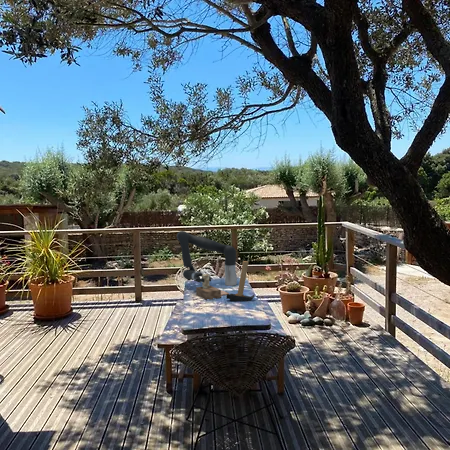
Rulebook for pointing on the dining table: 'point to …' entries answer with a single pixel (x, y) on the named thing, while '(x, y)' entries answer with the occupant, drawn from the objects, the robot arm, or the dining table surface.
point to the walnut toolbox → (208, 292)
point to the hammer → (241, 286)
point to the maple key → (206, 283)
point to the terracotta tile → (223, 293)
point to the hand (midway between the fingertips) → (207, 280)
